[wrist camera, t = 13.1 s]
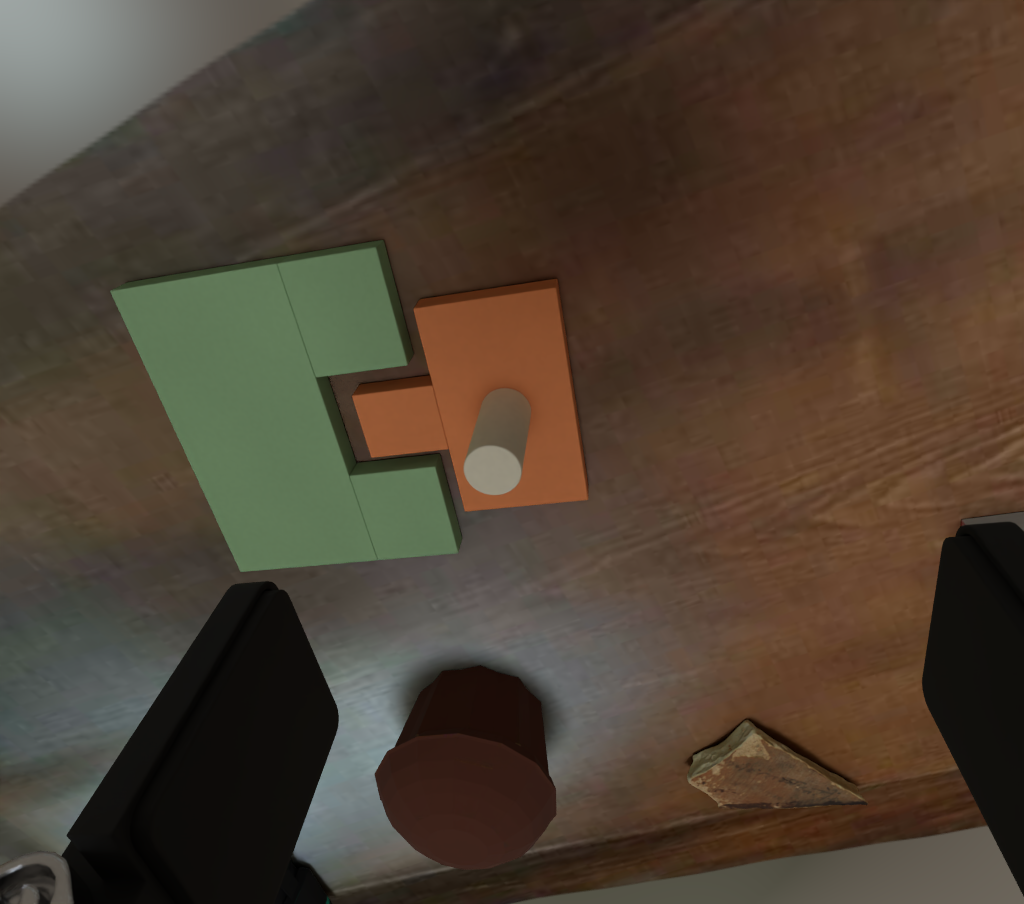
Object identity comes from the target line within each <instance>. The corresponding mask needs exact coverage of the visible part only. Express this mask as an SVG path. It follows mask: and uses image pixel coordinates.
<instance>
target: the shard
mask: <svg viewBox="0 0 1024 904" xmlns="http://www.w3.org/2000/svg"><path fill="white" fill-rule="evenodd" d="M687 778H688V782H689V783H690V784H692V785H693V786H695V787H697V788H698V789H700V790H702V791H703V792H705V793H707V794H708V795H709V796H711V797H712V798H713V799H714V800H715V801H716V802H717V803H718V807H719V808H729V809H751V808H762V809H775V808H781V809H789V808H803V807H817V806H828V805H857V804H862V805H867V804H868V802H867V801H866V800H865V799H864V798H863V797H862V796H861V794H860V793H859V790H858V788H857V786H856V785H855V784H853V783H849V782H847V781H846V780H845V779H843V778H842V777H840V776H838V775H836V774H834V773H830V772H829V771H827V770H825V769H824V768H822V767H820V766H818V765H817V764H815V763H814V762H812V761H810V760H809V759H807V758H805V757H802V756H801V755H799V754H796V753H795V752H793V751H792V750H791V749H790V748H788V747H787V746H785V745H783V744H781V743H780V742H777V741H776V740H774V739H772V738H771V737H770V736H768V735H766V734H765V733H764V732H763V731H762V730H760V729H758V728H756V727H755V726H754V724H753V723H751V722H750V721H749V720H745V721H744V722H743V723H742V724H741V725H740V726H739V727H737V728H736V729H735V731H734V732H733V733H732V734H731V735H730V736H729V737H728V738H727V739H726V740H725V741H724V742H722V743H720V744H719V745H717V746H715V747H711V748H708V749H705V750H704V751H702V752H700V753H698V754H695V755H693V763H692V765H691V767H690V770H689V772H688V775H687Z"/></svg>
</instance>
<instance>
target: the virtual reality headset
mask: <svg viewBox="0 0 1024 904" xmlns="http://www.w3.org/2000/svg"><path fill="white" fill-rule="evenodd" d="M274 904H332V903H331V901H330V899H329V898H328V896H327V895H326V893H325V892H324V890H323V889H322V887H321V886H320V884H319V883H318V881H317V880H316V878H315V877H314V875H313V874H312V872H311V871H310V869H309V868H302V867H300V868H299V869H296V867H295V866H294V865H293V864H292V860H290V862H289V864H288V867H287V870H286V873H285V875H284V878H283V881H282V884H281V886H280V889H279V892H278V895H277V897H276V900H275V903H274Z"/></svg>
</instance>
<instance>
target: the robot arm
mask: <svg viewBox="0 0 1024 904" xmlns="http://www.w3.org/2000/svg"><path fill="white" fill-rule="evenodd" d="M922 687H923V693H924V697H925V701H926V704H927V706H928V708H929V710H930V712H931V714H932V716H933V718H934V720H935V722H936V724H937V726H938V728H939V730H940V732H941V734H942V736H943V738H944V740H945V742H946V744H947V746H948V748H949V750H950V752H951V754H952V756H953V758H954V760H955V762H956V764H957V766H958V768H959V770H960V772H961V774H962V776H963V778H964V780H965V782H966V783H967V785H968V787H969V789H970V791H971V793H972V795H973V797H974V799H975V801H976V803H977V805H978V807H979V809H980V811H981V813H982V815H983V817H984V819H985V821H986V823H987V825H988V827H989V829H990V831H991V832H992V835H993V837H994V839H995V841H996V842H997V845H998V847H999V849H1000V851H1001V852H1002V854H1003V856H1004V858H1005V860H1006V862H1007V864H1008V866H1009V868H1010V870H1011V872H1012V874H1013V876H1014V878H1015V880H1016V881H1017V884H1018V886H1019V888H1020V890H1021V892H1022V894H1023V896H1024V531H1023V530H1022V529H1021V528H1020V527H1019V526H1018V525H1017V524H1016V523H1013V522H1010V521H1007V522H995V523H983V524H970V525H963V526H960V528H959V529H958V531H957V533H956V537H949V538H946V539H945V540H944V542H943V546H942V551H941V558H940V565H939V571H938V578H937V585H936V591H935V598H934V604H933V611H932V618H931V624H930V631H929V638H928V644H927V651H926V657H925V664H924V671H923V677H922ZM338 722H339V715H338V709H337V705H336V703H335V701H334V699H333V696H332V694H331V692H330V689H329V687H328V685H327V682H326V680H325V678H324V676H323V673H322V671H321V669H320V666H319V664H318V662H317V659H316V657H315V655H314V653H313V650H312V648H311V646H310V643H309V641H308V639H307V636H306V634H305V632H304V630H303V627H302V625H301V623H300V620H299V618H298V616H297V613H296V611H295V609H294V606H293V604H292V602H291V600H290V597H289V595H288V594H287V592H285V591H284V590H279V589H278V588H277V586H276V585H275V584H274V583H273V582H269V581H266V582H253V583H241V584H235V585H232V586H231V587H230V588H229V589H228V590H227V592H226V593H225V595H224V596H223V598H222V599H221V601H220V602H219V604H218V605H217V607H216V608H215V610H214V611H213V613H212V614H211V616H210V617H209V619H208V621H207V622H206V624H205V625H204V627H203V628H202V630H201V631H200V633H199V634H198V636H197V637H196V639H195V640H194V642H193V643H192V645H191V646H190V648H189V649H188V651H187V653H186V654H185V656H184V657H183V659H182V660H181V662H180V663H179V665H178V666H177V668H176V669H175V671H174V672H173V674H172V675H171V677H170V678H169V680H168V681H167V683H166V685H165V686H164V688H163V689H162V691H161V692H160V694H159V695H158V697H157V698H156V700H155V701H154V703H153V704H152V706H151V707H150V709H149V710H148V712H147V713H146V715H145V717H144V718H143V720H142V721H141V723H140V724H139V726H138V727H137V729H136V730H135V732H134V733H133V735H132V736H131V738H130V739H129V741H128V742H127V744H126V745H125V747H124V748H123V750H122V752H121V753H120V755H119V756H118V758H117V759H116V761H115V762H114V764H113V765H112V767H111V768H110V770H109V771H108V773H107V774H106V776H105V777H104V779H103V780H102V782H101V784H100V785H99V787H98V788H97V790H96V791H95V793H94V794H93V796H92V797H91V799H90V800H89V802H88V803H87V805H86V806H85V808H84V809H83V811H82V812H81V814H80V816H79V817H78V819H77V820H76V822H75V823H74V825H73V826H72V828H71V829H70V831H69V832H68V834H67V835H66V836H67V837H68V838H69V839H70V840H71V842H70V844H69V845H68V847H67V848H66V850H65V851H64V853H63V854H62V856H60V855H59V854H57V853H56V852H48V851H37V852H33V853H29V854H24V855H21V856H19V857H17V858H15V859H13V860H10V861H8V862H6V863H4V864H2V865H0V904H274V903H275V900H276V897H277V895H278V892H279V889H280V886H281V884H282V881H283V878H284V875H285V873H286V870H287V867H288V864H289V862H290V859H291V856H292V853H293V851H294V848H295V845H296V842H297V840H298V837H299V834H300V831H301V829H302V826H303V823H304V820H305V818H306V815H307V812H308V809H309V807H310V804H311V801H312V798H313V796H314V793H315V790H316V787H317V785H318V782H319V779H320V777H321V774H322V771H323V768H324V766H325V763H326V760H327V757H328V755H329V752H330V749H331V746H332V744H333V741H334V738H335V735H336V732H337V729H338Z"/></svg>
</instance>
